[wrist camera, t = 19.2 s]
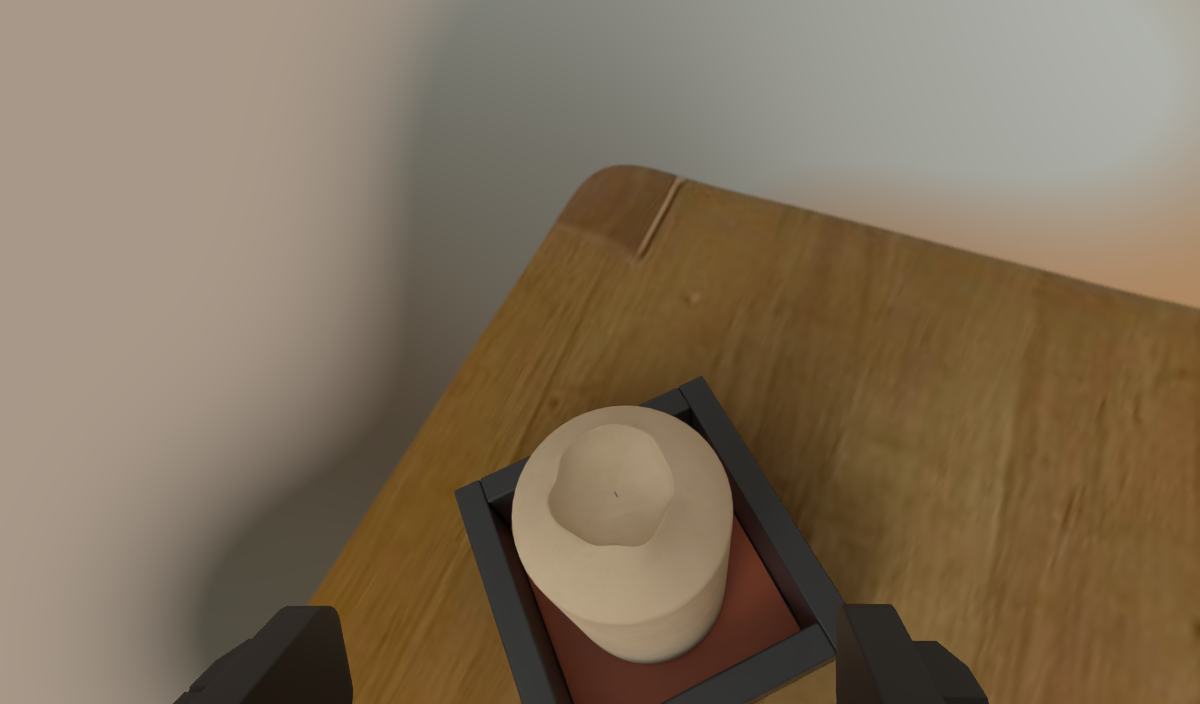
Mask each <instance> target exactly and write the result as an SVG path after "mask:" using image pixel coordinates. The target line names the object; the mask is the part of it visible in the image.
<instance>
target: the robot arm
mask: <svg viewBox="0 0 1200 704" xmlns="http://www.w3.org/2000/svg"><path fill="white" fill-rule="evenodd" d="M836 698H837V704H989V703H988V698H987V696H986V695H985V693H984V691H983V690H982V688H981V687H980V685H979V684H978V682H977V680H976V679H975V677H974V676H973V674H972V672H971V671H970V669H969V668H968V666H966V665H965V664H964V663H963V662H961V661H960V660H959V659H958V658H956V657H955V656H954V655H953V654H952V653H950V652H949V651H948V650H947V649H945V648H944V647H943V646H942V645H941V644H939V643H938V642H937V641H912V639H911V638H910V636H909V634H908V632H907V630H906V628H905V626H904V625H903V623H902V621H901V619H900V617H899V615H898V613H897V612H896V610H895V608H894V607H893V606H892V605H891V604H839V605H838V607H837V612H836ZM352 700H353V686H352V680H351V675H350V670H349V665H348V659H347V654H346V649H345V644H344V639H343V634H342V629H341V624H340V619H339V615H338V613H337V611H336V610H335V609H334V608H333V607H331V606H287V607H284V608H282V609H280V610H279V611H278V612H277V613H276V614H275V615H274V616H273V617H272V618H271V619H270V621H269V622H268V623H267V624H266V625H265V626H264V627H263V628H262V629H261V630H260V631H259V632H258V633H257V634H256V635H255V636H254V637H253V638H252V639H248V640H246V641H245V642H243V643H242V644H240V645H239V646H237V647H236V648H234V649H233V650H231V651H230V652H228V653H227V654H225V655H224V656H222V657H221V658H219V659H218V660H216V661H215V662H214V663H213V664H212V665H211V666H210V667H209V668H208V669H207V670H206V671H205V672H204V673H203V674H202V675H201V676H200V677H199V678H198V679H197V680H196V681H195V682H194V683H193V684H192V685H191V686H190V690H189V692H184V693H183V694H182V695H181V696H180V698H178V700H176V701H175V702H174V703H173V704H352Z"/></svg>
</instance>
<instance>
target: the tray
mask: <svg viewBox="0 0 1200 704" xmlns="http://www.w3.org/2000/svg"><path fill="white" fill-rule="evenodd" d="M639 406H640V407H646V408H651V409H655V410H658V411H661V412H664V413H667V414H669V415H671V416H673V417H676V418H677V419H679V420H681V421H682V422H684V423H686V424H687V425H689V426H690V427H691V428H693V429H694V430H695V431H696V432H698V433H699V434H700V435H701V436H702V437H703V438H704V439H705V440H706V441H707V442H708V444H709V445H710V446H711V448H712V449H713V450H714V452H715V453H716V455H717V456H718V458H719V460H720V462H721V463H722V465H723V467H724V470H725V472H726V475H727V477H728V481H729V485H730V489H731V493H732V502H733V524H732V534H731V543H730V552H729V561H728V570H727V578H726V587H725V594H724V600H723V604H722V607H721V610H720V614H719V616H718V618H717V620H716V623H715V624H714V626H713V627H712V629H711V631H710V632H709V633H708V635H707V636H706V637H705V638H704V640H703V641H702V642H701V643H699V644H698V645H697V646H696V647H695V648H694V649H692V650H691V651H689V652H688V653H686V654H685V655H683V656H681V657H678V658H676V659H674V660H670V661H667V662H663V663H657V664H640V663H633V662H629V661H625V660H622V659H620V658H618V657H615V656H613V655H611V654H610V653H608V652H607V651H605V650H603V649H602V648H601V647H600V646H598V645H597V644H596V643H595V642H593V641H592V640H591V639H590V638H589V637H588V636H587V635H586V634H585V633H584V632H583V631H582V630H581V629H580V628H579V627H578V626H577V625H576V624H575V623H574V622H573V621H571V620H570V619H569V618H568V617H567V616H566V615H565V614H564V613H563V612H562V611H561V610H560V609H559V608H558V607H557V606H556V605H555V604H554V603H553V602H552V601H551V600H550V599H549V598H548V597H547V596H546V595H545V594H544V593H543V592H542V591H541V590H540V589H539V588H538V587H537V586H536V584H535V583H534V582H533V580H532V579H531V577H530V576H529V575H528V573H527V572H526V570H525V568H524V566H523V564H522V562H521V560H520V557H519V554H518V552H517V549H516V546H515V541H514V536H513V530H512V506H513V499H514V494H515V489H516V486H517V483H518V480H519V477H520V475H521V473H522V471H523V469H524V467H525V465H526V463H527V461H528V460H529V458H530V457H531V456H529V457H527V458H525V459H523V460H521V461H518V462H516V463H514V464H512V465H510V466H508V467H505V468H503V469H501V470H499V471H497V472H495V473H493V474H490V475H488V476H486V477H484V478H482V479H481V482H480V481H479V480H478V481H475V482H473V483H471V484H469V485H467V486H464V487H462V488H460V489H458V490H456V491H455V497H456V500H457V503H458V506H459V509H460V512H461V515H462V518H463V521H464V525H465V528H466V531H467V534H468V537H469V540H470V543H471V546H472V549H473V552H474V556H475V559H476V562H477V565H478V568H479V571H480V574H481V577H482V580H483V584H484V587H485V590H486V593H487V596H488V599H489V602H490V605H491V608H492V611H493V615H494V618H495V621H496V624H497V627H498V630H499V633H500V636H501V639H502V643H503V646H504V649H505V652H506V655H507V658H508V661H509V664H510V667H511V671H512V674H513V677H514V680H515V683H516V686H517V689H518V692H519V695H520V698H521V702H522V704H753V703H755V702H757V701H759V700H760V699H762V698H764V697H766V696H768V695H770V694H772V693H774V692H776V691H777V690H779V689H781V688H783V687H785V686H787V685H789V684H791V683H793V682H795V681H796V680H798V679H800V678H802V677H804V676H806V675H808V674H810V673H812V672H813V671H815V670H817V669H819V668H821V667H823V666H825V665H827V664H829V663H831V662H832V661H834V660H836V612H837V607H838V605H839V604H845V602H844V601H843V599H842V597H841V596H840V594H839V593H838V591H837V589H836V588H835V586H834V585H833V583H832V582H831V580H830V578H829V577H828V575H827V574H826V572H825V570H824V569H823V567H822V566H821V564H820V562H819V561H818V559H817V558H816V556H815V554H814V553H813V551H812V550H811V548H810V547H809V545H808V543H807V542H806V540H805V539H804V537H803V535H802V534H801V532H800V531H799V529H798V527H797V526H796V524H795V523H794V521H793V519H792V518H791V516H790V515H789V513H788V512H787V510H786V508H785V507H784V505H783V504H782V502H781V500H780V499H779V497H778V496H777V494H776V492H775V491H774V489H773V488H772V486H771V485H770V483H769V481H768V480H767V478H766V477H765V475H764V473H763V472H762V470H761V469H760V467H759V465H758V464H757V462H756V461H755V459H754V457H753V456H752V454H751V453H750V451H749V450H748V448H747V446H746V445H745V443H744V442H743V440H742V438H741V437H740V435H739V434H738V432H737V430H736V429H735V427H734V426H733V424H732V422H731V421H730V419H729V418H728V416H727V415H726V413H725V411H724V410H723V408H722V407H721V405H720V403H719V402H718V400H717V399H716V397H715V395H714V394H713V392H712V391H711V389H710V388H709V386H708V384H707V383H706V381H705V380H704V378H703V377H702V376H701V377H698V378H696V379H694V380H692V381H690V382H688V383H685V384H683V385H681V386H679V389H678V388H676V389H673V390H671V391H669V392H667V393H665V394H663V395H661V396H658V397H656V398H654V399H652V400H650V401H648V402H645V403H643V404H641V405H639Z"/></svg>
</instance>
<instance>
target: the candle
mask: <svg viewBox="0 0 1200 704" xmlns="http://www.w3.org/2000/svg"><path fill="white" fill-rule="evenodd" d="M732 524H733V502H732V493H731V489H730V485H729V481H728V477H727V475H726V472H725V470H724V467H723V465H722V463H721V462H720V460H719V458H718V456H717V455H716V453H715V452H714V450H713V449H712V448H711V446H710V445H709V444H708V442H707V441H706V440H705V439H704V438H703V437H702V436H701V435H700V434H699V433H698V432H696V431H695V430H694V429H693V428H691V427H690V426H689V425H687V424H686V423H684V422H682V421H681V420H679V419H677V418H676V417H673V416H671V415H669V414H667V413H664V412H661V411H658V410H655V409H651V408H646V407H640V406H625V405H624V406H611V407H605V408H600V409H596V410H593V411H590V412H586V413H584V414H582V415H579V416H577V417H575V418H573V419H571V420H569V421H568V422H566V423H564V424H563V425H561V426H560V427H559V428H557V429H556V430H555V431H553V432H552V433H551V434H550V435H549V436H548V437H547V438H546V439H545V440H544V441H542V442H541V444H540V445H539V446H538V447H537V449H536V450H535V451H534V452H533V454H532V455H531V457H530V458H529V460H528V461H527V463H526V465H525V467H524V469H523V471H522V473H521V475H520V477H519V480H518V483H517V486H516V489H515V494H514V499H513V506H512V530H513V536H514V541H515V546H516V549H517V552H518V554H519V557H520V560H521V562H522V564H523V566H524V568H525V570H526V572H527V573H528V575H529V576H530V577H531V579H532V580H533V582H534V583H535V584H536V586H537V587H538V588H539V589H540V590H541V591H542V592H543V593H544V594H545V595H546V596H547V597H548V598H549V599H550V600H551V601H552V602H553V603H554V604H555V605H556V606H557V607H558V608H559V609H560V610H561V611H562V612H563V613H564V614H565V615H566V616H567V617H568V618H569V619H570V620H571V621H573V622H574V623H575V624H576V625H577V626H578V627H579V628H580V629H581V630H582V631H583V632H584V633H585V634H586V635H587V636H588V637H589V638H590V639H591V640H592V641H593V642H595V643H596V644H597V645H598V646H600V647H601V648H602V649H603V650H605V651H607V652H608V653H610V654H611V655H613V656H615V657H618V658H620V659H622V660H625V661H629V662H633V663H640V664H657V663H663V662H667V661H670V660H674V659H676V658H678V657H681V656H683V655H685V654H686V653H688V652H689V651H691V650H692V649H694V648H695V647H696V646H697V645H698V644H699V643H701V642H702V641H703V640H704V638H705V637H706V636H707V635H708V633H709V632H710V631H711V629H712V627H713V626H714V624H715V623H716V620H717V618H718V616H719V614H720V610H721V607H722V604H723V600H724V594H725V587H726V578H727V570H728V561H729V552H730V543H731V534H732Z"/></svg>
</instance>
